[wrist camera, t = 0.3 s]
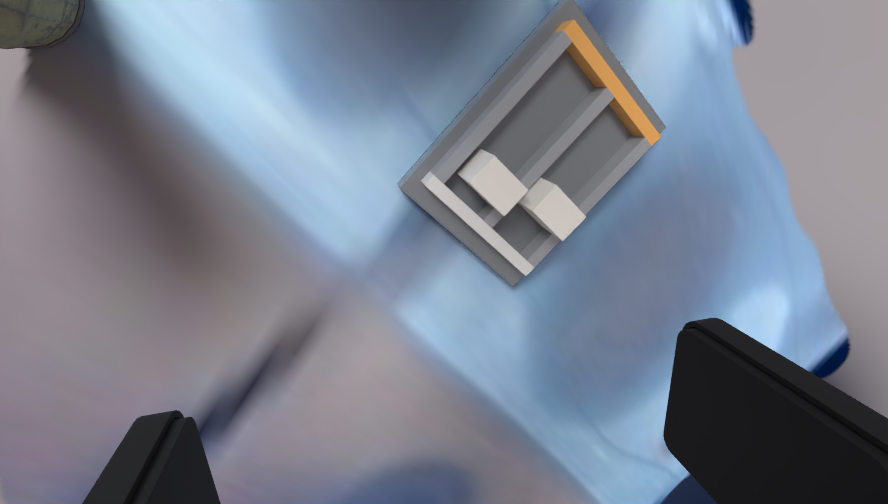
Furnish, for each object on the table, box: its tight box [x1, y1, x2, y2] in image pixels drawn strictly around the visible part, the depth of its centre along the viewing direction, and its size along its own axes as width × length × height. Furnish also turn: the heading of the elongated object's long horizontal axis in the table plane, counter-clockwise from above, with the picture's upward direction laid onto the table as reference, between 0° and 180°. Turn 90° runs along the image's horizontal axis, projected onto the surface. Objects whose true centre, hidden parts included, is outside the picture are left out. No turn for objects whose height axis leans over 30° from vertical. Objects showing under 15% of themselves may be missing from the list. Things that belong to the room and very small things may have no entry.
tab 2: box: [517, 177, 586, 241], centre depth 42 cm, size 3×4×5 cm
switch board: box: [397, 0, 666, 286], centre depth 42 cm, size 22×16×4 cm
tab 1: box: [456, 148, 529, 216], centre depth 39 cm, size 3×4×5 cm
